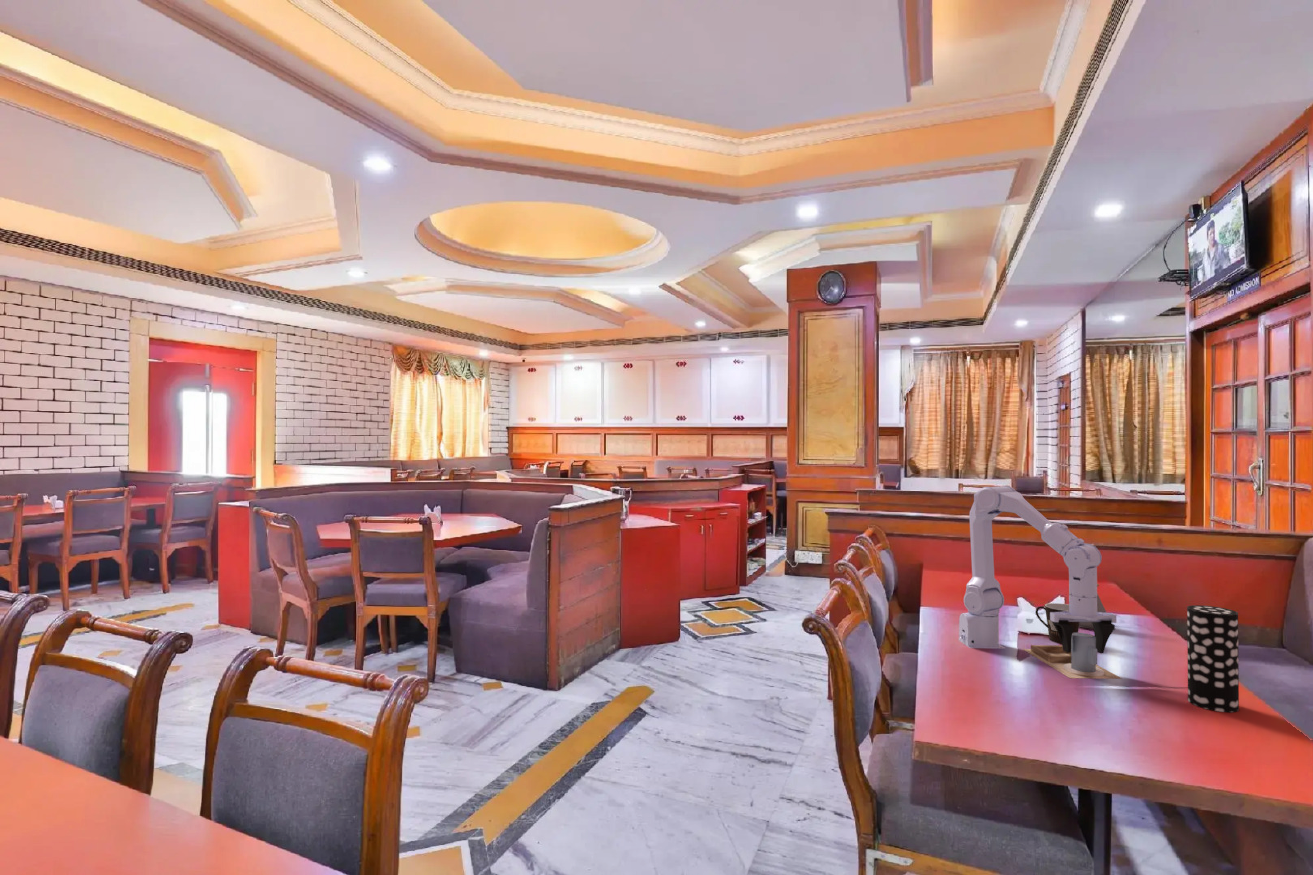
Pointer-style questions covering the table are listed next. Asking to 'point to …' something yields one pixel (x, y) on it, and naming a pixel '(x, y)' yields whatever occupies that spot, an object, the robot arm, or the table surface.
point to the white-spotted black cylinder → (1213, 658)
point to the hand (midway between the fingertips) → (1083, 651)
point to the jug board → (1065, 662)
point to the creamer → (1083, 652)
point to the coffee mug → (1051, 628)
